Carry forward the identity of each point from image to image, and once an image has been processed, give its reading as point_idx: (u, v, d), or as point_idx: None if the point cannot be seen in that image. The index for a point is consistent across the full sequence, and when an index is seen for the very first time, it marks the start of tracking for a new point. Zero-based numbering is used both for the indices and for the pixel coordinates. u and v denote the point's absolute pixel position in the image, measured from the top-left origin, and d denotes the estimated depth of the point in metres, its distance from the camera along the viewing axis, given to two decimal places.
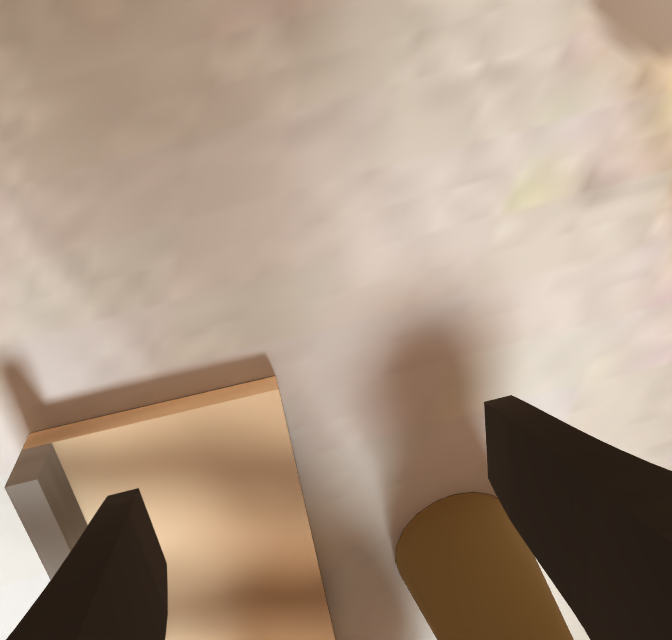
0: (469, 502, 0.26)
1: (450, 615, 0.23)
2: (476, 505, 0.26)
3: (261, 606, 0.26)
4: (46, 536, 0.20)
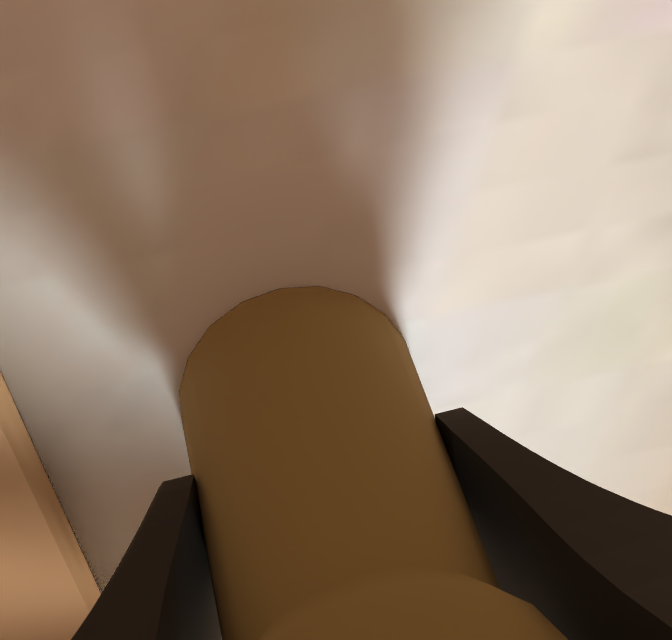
0: (305, 298, 0.14)
1: (213, 484, 0.10)
2: (317, 302, 0.14)
3: None
4: None
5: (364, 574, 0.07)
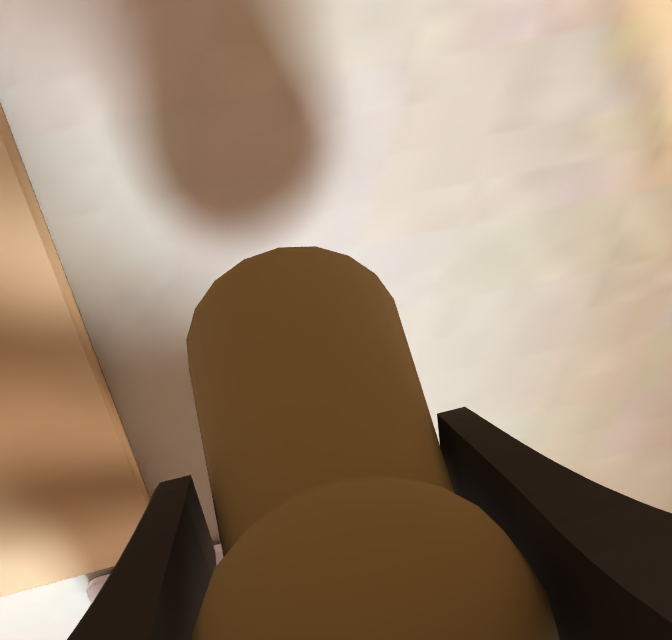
0: (301, 256, 0.15)
1: (214, 414, 0.12)
2: (312, 260, 0.15)
3: None
4: None
5: (338, 477, 0.09)
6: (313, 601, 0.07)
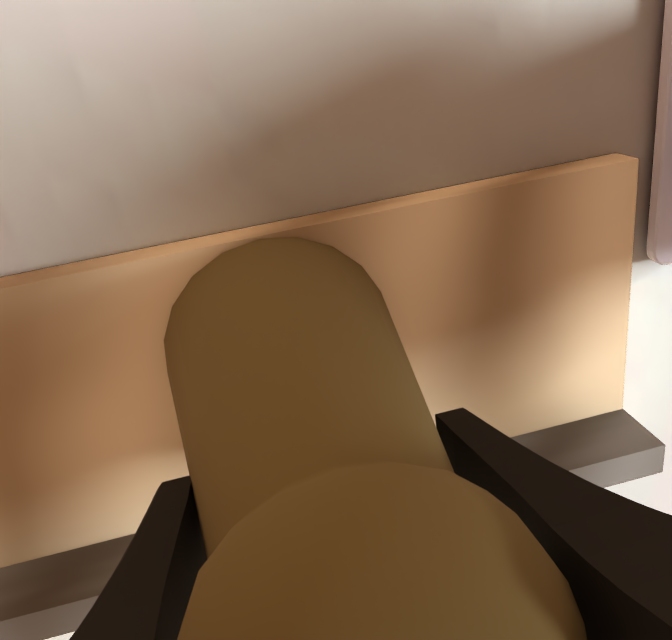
0: (283, 247, 0.14)
1: (195, 411, 0.11)
2: (294, 250, 0.14)
3: None
4: (49, 623, 0.16)
5: (333, 465, 0.08)
6: (312, 596, 0.06)
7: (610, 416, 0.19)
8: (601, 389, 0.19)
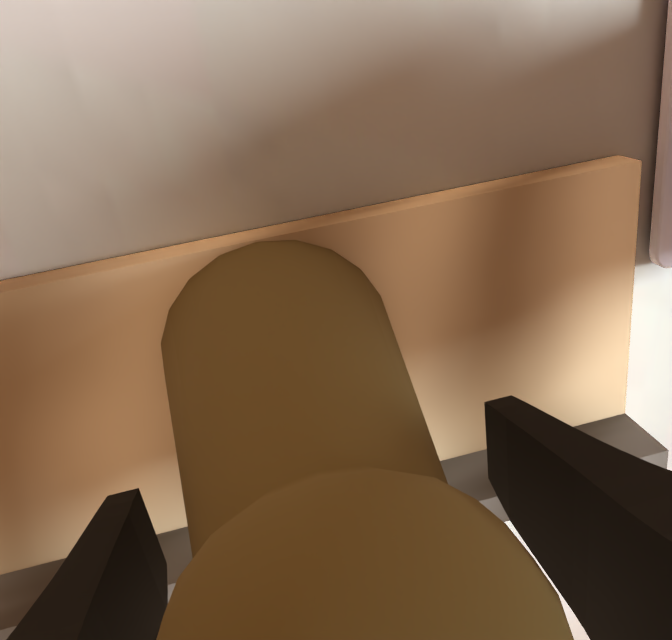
0: (281, 249, 0.14)
1: (185, 414, 0.11)
2: (292, 252, 0.14)
3: None
4: None
5: (317, 471, 0.08)
6: (285, 608, 0.06)
7: (612, 421, 0.19)
8: (603, 393, 0.19)
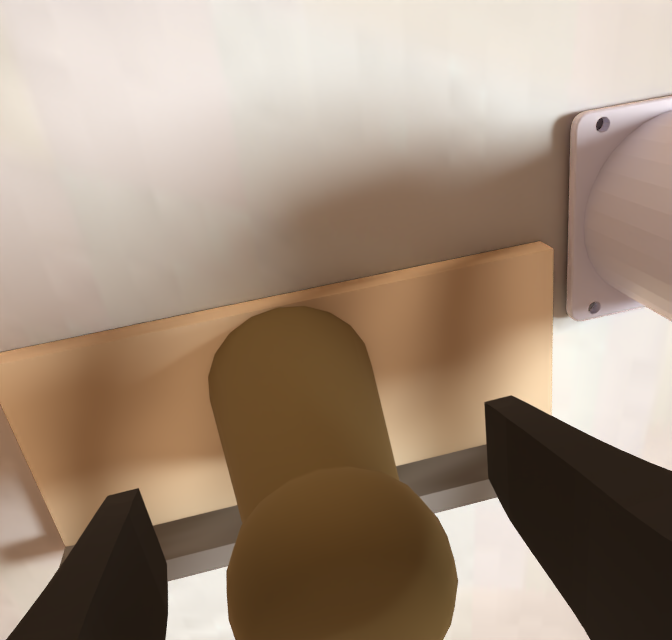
0: (294, 314, 0.20)
1: (234, 431, 0.17)
2: (302, 317, 0.20)
3: None
4: None
5: (318, 468, 0.14)
6: (302, 533, 0.12)
7: None
8: None
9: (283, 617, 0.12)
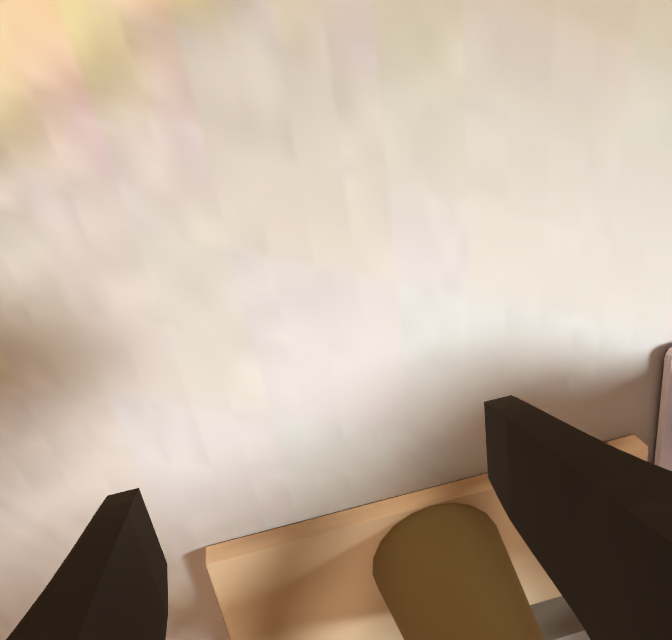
0: (447, 513, 0.25)
1: (424, 633, 0.22)
2: (454, 516, 0.25)
3: None
4: None
5: None
6: None
7: None
8: None
9: None
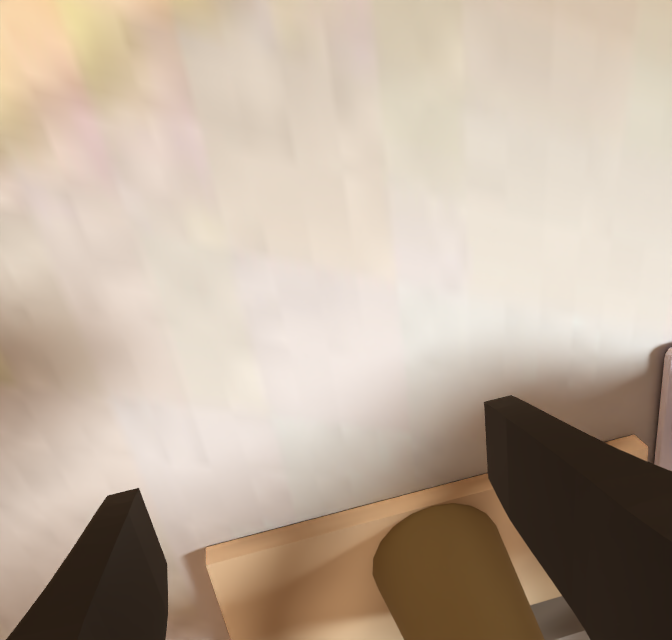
0: (447, 513, 0.25)
1: (425, 633, 0.22)
2: (454, 517, 0.25)
3: None
4: None
5: None
6: None
7: None
8: None
9: None
